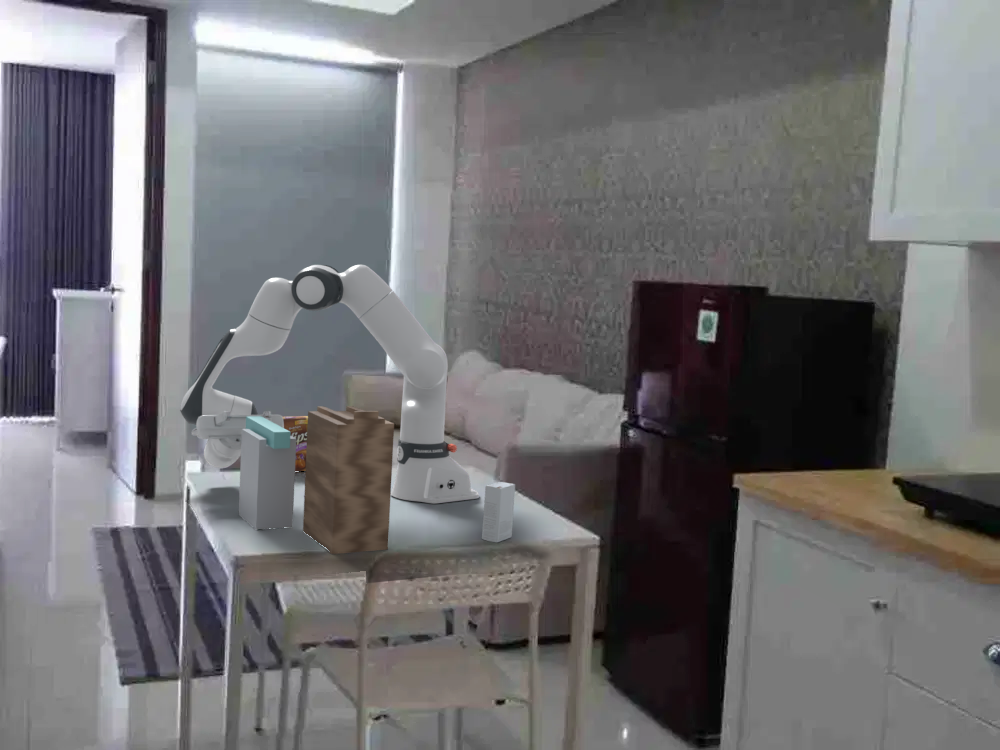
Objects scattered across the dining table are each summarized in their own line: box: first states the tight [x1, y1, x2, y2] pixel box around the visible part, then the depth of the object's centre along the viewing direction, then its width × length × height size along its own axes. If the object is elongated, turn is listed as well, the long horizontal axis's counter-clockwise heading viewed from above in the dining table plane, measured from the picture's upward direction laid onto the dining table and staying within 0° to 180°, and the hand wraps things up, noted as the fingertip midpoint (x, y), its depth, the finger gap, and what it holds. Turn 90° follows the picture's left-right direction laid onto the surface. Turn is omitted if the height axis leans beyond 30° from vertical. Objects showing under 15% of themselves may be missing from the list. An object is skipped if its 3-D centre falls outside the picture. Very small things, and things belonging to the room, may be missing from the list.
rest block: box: [238, 429, 296, 530], centre depth 226 cm, size 8×14×20 cm, turn 29°
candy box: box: [281, 415, 308, 471], centre depth 282 cm, size 9×4×15 cm, turn 123°
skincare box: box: [481, 481, 516, 543], centre depth 224 cm, size 6×4×12 cm
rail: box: [246, 416, 291, 449], centre depth 226 cm, size 4×22×4 cm, turn 29°
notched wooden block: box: [302, 405, 395, 555], centre depth 214 cm, size 12×18×28 cm, turn 29°
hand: (248, 414), depth 239 cm, fingers open, 8 cm apart
